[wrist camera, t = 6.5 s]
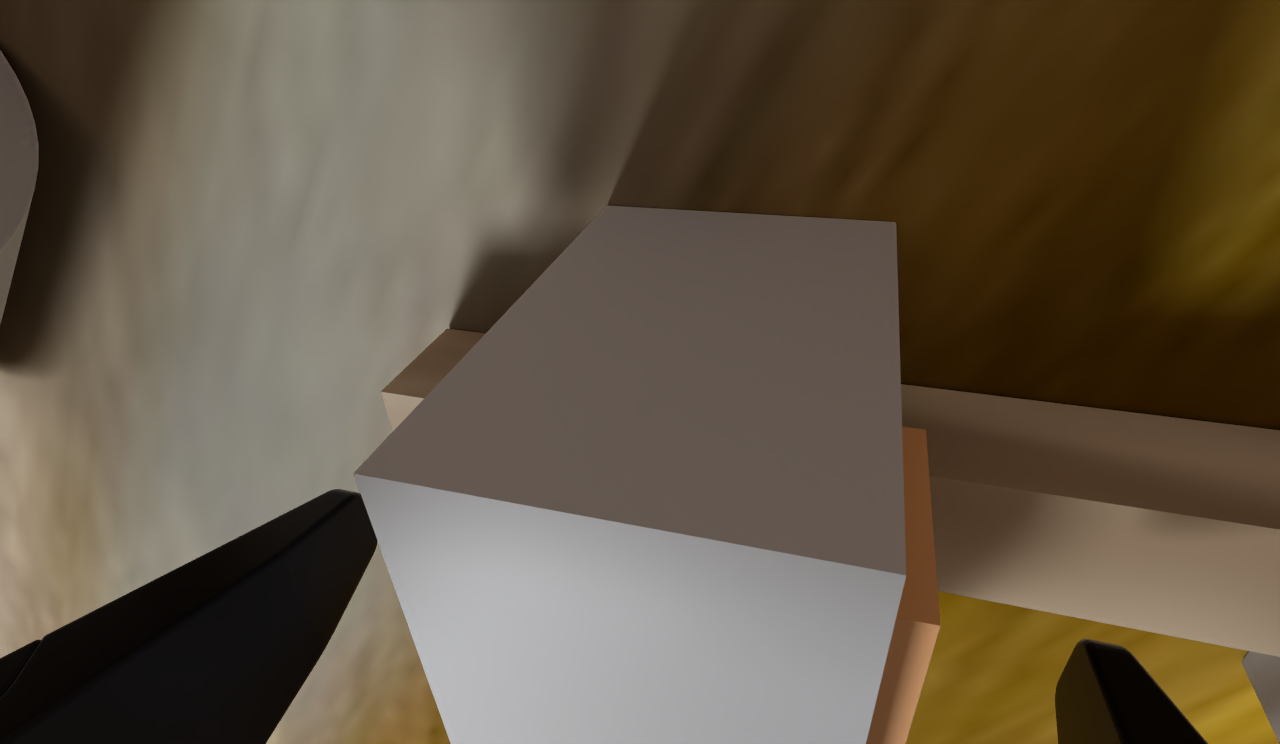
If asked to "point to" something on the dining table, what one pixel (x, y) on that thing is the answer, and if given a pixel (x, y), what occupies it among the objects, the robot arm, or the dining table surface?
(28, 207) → the toilet paper
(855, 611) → the white block orange stripe
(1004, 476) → the grey block with bar
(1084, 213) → the dining table surface
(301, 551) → the robot arm
